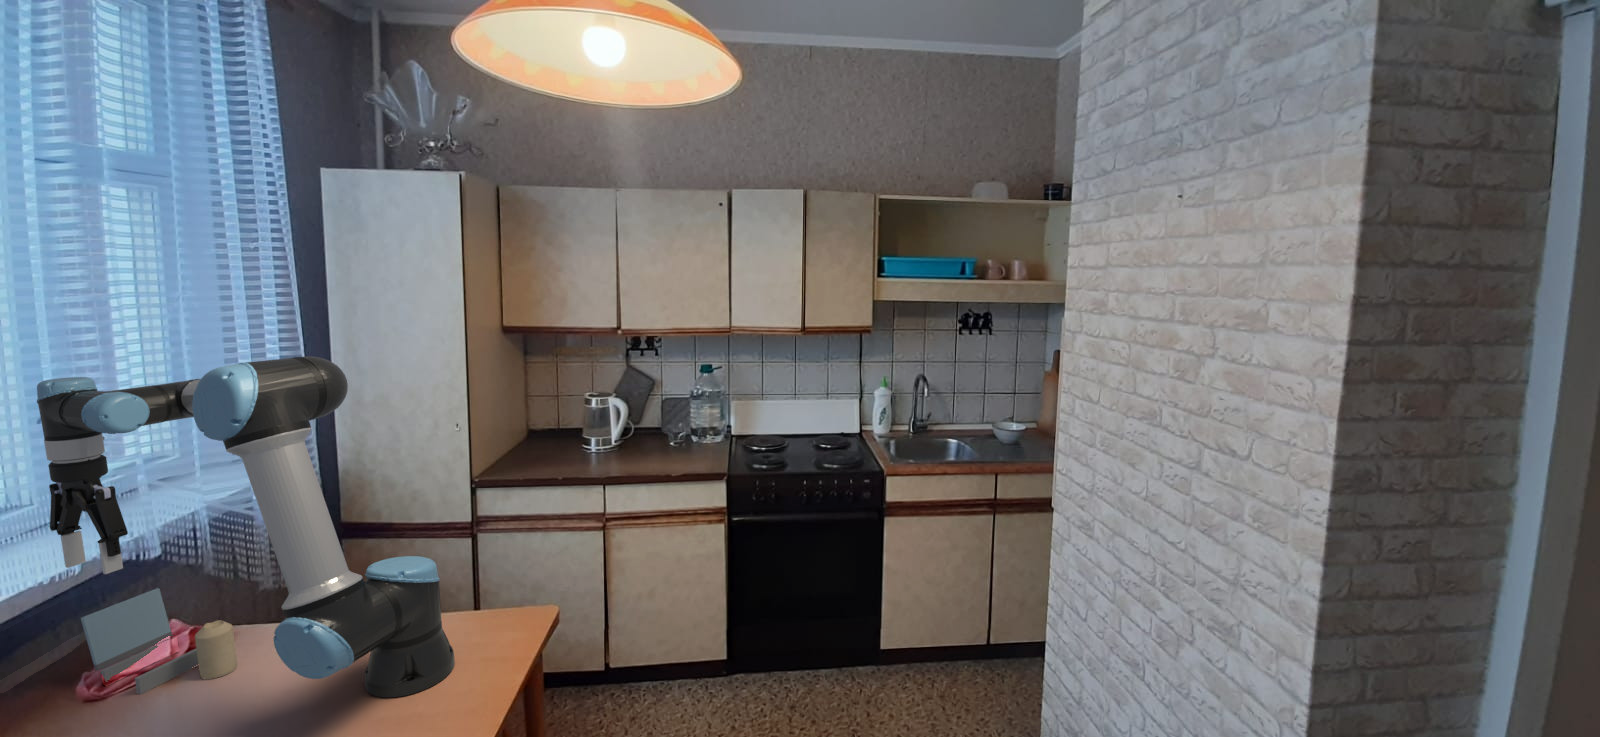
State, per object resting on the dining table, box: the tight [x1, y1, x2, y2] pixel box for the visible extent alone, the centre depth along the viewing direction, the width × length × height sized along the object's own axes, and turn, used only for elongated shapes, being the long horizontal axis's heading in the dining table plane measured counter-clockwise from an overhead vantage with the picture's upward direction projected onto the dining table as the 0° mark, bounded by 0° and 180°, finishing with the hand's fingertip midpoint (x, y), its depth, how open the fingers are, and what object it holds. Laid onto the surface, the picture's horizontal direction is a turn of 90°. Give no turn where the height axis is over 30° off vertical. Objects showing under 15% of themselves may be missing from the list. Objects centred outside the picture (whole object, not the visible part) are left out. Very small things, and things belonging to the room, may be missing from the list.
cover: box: [80, 587, 174, 672], centre depth 129 cm, size 11×12×1 cm
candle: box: [194, 619, 238, 680], centre depth 128 cm, size 6×6×10 cm
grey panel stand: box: [99, 644, 199, 695], centre depth 128 cm, size 10×12×3 cm
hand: (94, 567), depth 129 cm, fingers open, 10 cm apart
